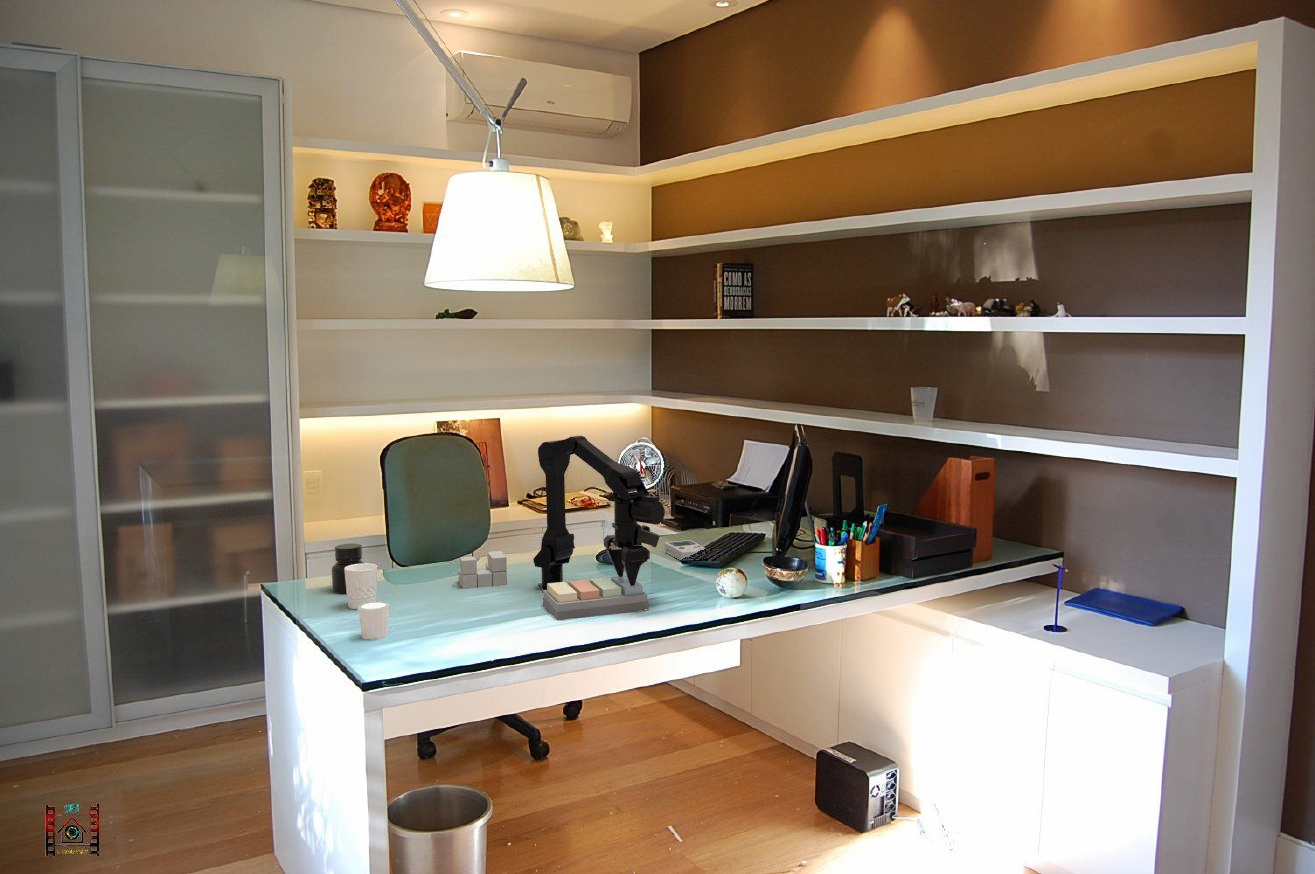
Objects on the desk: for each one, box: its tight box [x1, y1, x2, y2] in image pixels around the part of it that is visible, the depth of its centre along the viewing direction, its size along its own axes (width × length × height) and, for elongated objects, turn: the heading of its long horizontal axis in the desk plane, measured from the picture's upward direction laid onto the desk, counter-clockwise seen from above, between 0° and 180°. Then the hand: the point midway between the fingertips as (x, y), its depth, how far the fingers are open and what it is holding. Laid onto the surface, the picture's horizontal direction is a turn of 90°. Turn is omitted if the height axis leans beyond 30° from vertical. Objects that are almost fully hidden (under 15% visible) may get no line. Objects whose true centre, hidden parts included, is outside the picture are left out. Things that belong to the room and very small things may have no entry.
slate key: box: [610, 575, 644, 596], centre depth 241 cm, size 11×5×2 cm, turn 21°
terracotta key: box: [568, 579, 599, 601], centre depth 237 cm, size 11×5×2 cm, turn 21°
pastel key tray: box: [542, 590, 649, 621], centre depth 238 cm, size 14×23×4 cm, turn 111°
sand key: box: [547, 581, 577, 603], centre depth 235 cm, size 11×5×2 cm, turn 21°
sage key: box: [589, 577, 621, 598], centre depth 239 cm, size 11×5×2 cm, turn 21°
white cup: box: [344, 562, 378, 610], centre depth 240 cm, size 8×8×10 cm
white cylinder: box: [357, 601, 390, 640], centre depth 217 cm, size 7×7×7 cm
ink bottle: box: [331, 542, 365, 595], centre depth 255 cm, size 10×9×12 cm
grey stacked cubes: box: [458, 550, 508, 590], centre depth 264 cm, size 12×12×8 cm
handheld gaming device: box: [664, 539, 706, 561], centre depth 293 cm, size 9×15×4 cm, turn 21°
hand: (626, 580), depth 241 cm, fingers open, 9 cm apart
